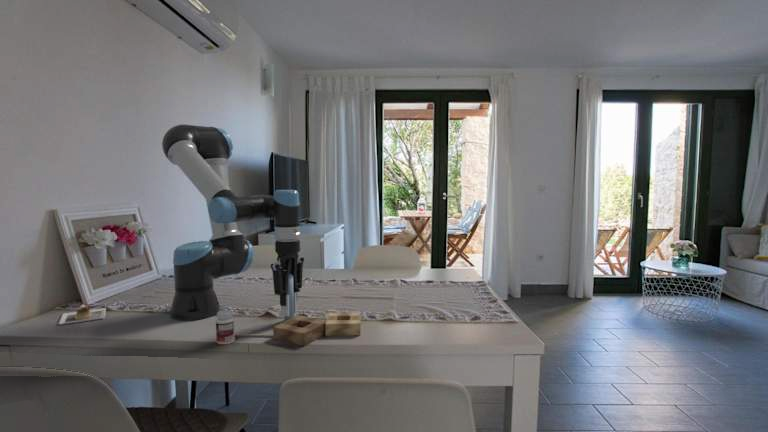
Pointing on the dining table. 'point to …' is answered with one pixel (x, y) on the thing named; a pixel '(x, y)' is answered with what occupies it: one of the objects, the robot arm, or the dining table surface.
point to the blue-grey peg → (290, 298)
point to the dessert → (82, 315)
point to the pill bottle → (225, 327)
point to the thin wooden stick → (254, 335)
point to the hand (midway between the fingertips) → (289, 313)
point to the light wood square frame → (343, 324)
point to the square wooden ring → (299, 330)
